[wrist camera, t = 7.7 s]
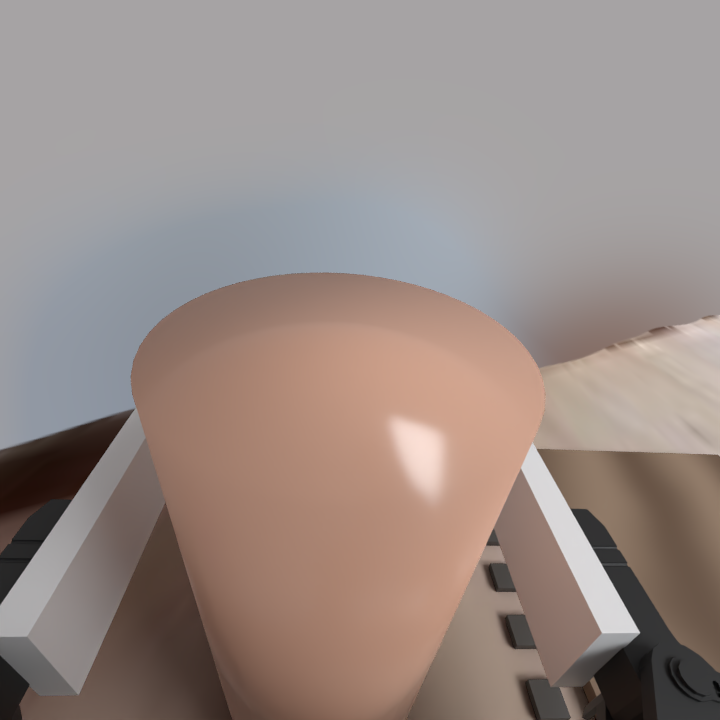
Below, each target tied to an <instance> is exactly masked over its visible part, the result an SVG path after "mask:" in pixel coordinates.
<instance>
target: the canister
mask: <svg viewBox="0 0 720 720" xmlns="http://www.w3.org/2000/svg"><path fill="white" fill-rule="evenodd" d="M131 386H132V395H133V398H134V401H135V405H136V408H137V411H138V415H139V418H140V421H141V424H142V428H143V431H144V434H145V437H146V441H147V444H148V447H149V450H150V454H151V457H152V460H153V463H154V467H155V470H156V473H157V477H158V480H159V483H160V486H161V490H162V493H163V496H164V499H165V503H166V506H167V509H168V512H169V516H170V519H171V522H172V526H173V529H174V532H175V535H176V539H177V542H178V545H179V548H180V552H181V555H182V558H183V561H184V565H185V568H186V571H187V574H188V578H189V581H190V584H191V588H192V591H193V594H194V597H195V601H196V604H197V607H198V610H199V614H200V617H201V620H202V623H203V627H204V630H205V633H206V637H207V640H208V643H209V646H210V650H211V653H212V656H213V659H214V663H215V666H216V669H217V672H218V676H219V679H220V682H221V685H222V689H223V692H224V695H225V699H226V702H227V705H228V708H229V712H230V715H231V718H232V720H407V718H408V715H409V713H410V711H411V709H412V707H413V704H414V702H415V700H416V698H417V696H418V693H419V691H420V689H421V687H422V685H423V682H424V680H425V678H426V676H427V673H428V671H429V669H430V667H431V665H432V662H433V660H434V658H435V656H436V654H437V651H438V649H439V647H440V645H441V643H442V640H443V638H444V636H445V634H446V632H447V629H448V627H449V625H450V623H451V621H452V618H453V616H454V614H455V612H456V610H457V607H458V605H459V603H460V601H461V599H462V596H463V594H464V592H465V590H466V588H467V585H468V583H469V581H470V579H471V577H472V574H473V572H474V570H475V568H476V566H477V563H478V561H479V559H480V557H481V555H482V552H483V550H484V548H485V546H486V544H487V541H488V539H489V537H490V535H491V532H492V530H493V528H494V526H495V524H496V521H497V519H498V517H499V515H500V513H501V510H502V508H503V506H504V504H505V502H506V499H507V497H508V495H509V493H510V491H511V488H512V486H513V484H514V482H515V480H516V477H517V475H518V473H519V471H520V469H521V466H522V464H523V462H524V460H525V458H526V455H527V453H528V451H529V449H530V447H531V444H532V442H533V440H534V438H535V436H536V433H537V431H538V429H539V427H540V423H541V420H542V417H543V414H544V411H545V396H546V394H545V388H544V383H543V378H542V376H541V374H540V371H539V369H538V366H537V364H536V363H535V361H534V360H533V358H532V356H531V355H530V353H529V352H528V351H527V349H526V348H525V347H524V346H523V345H522V344H521V342H520V341H519V340H518V339H517V338H516V337H515V336H514V335H513V334H511V333H510V332H509V331H508V330H507V329H506V328H505V327H503V326H502V325H500V324H499V323H497V322H496V321H495V320H494V319H492V318H491V317H489V316H487V315H486V314H484V313H482V312H481V311H479V310H477V309H475V308H473V307H471V306H470V305H467V304H466V303H464V302H461V301H459V300H457V299H454V298H452V297H450V296H447V295H445V294H442V293H439V292H436V291H434V290H431V289H427V288H424V287H421V286H417V285H414V284H409V283H405V282H401V281H397V280H392V279H386V278H381V277H373V276H366V275H357V274H345V273H297V274H285V275H277V276H269V277H263V278H258V279H253V280H248V281H244V282H239V283H236V284H232V285H229V286H225V287H222V288H219V289H217V290H214V291H211V292H209V293H206V294H204V295H202V296H200V297H198V298H195V299H193V300H191V301H189V302H187V303H186V304H184V305H182V306H181V307H179V308H177V309H176V310H174V311H173V312H171V313H170V314H169V315H168V316H166V317H165V318H164V319H162V320H161V321H160V322H159V323H158V324H157V325H156V326H155V327H154V328H153V329H152V330H151V331H150V332H149V334H148V335H147V336H146V338H145V339H144V340H143V342H142V343H141V345H140V347H139V349H138V351H137V354H136V356H135V358H134V361H133V367H132V372H131Z"/></svg>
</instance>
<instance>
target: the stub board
mask: <svg viewBox="0 0 720 720" xmlns="http://www.w3.org/2000/svg"><path fill="white" fill-rule="evenodd" d="M537 451H538V453H539V455H540V456H541V458H542V460H543V462H544V463H545V465H546V467H547V469H548V471H549V472H550V474H551V476H552V478H553V479H554V481H555V483H556V485H557V486H558V488H559V490H560V492H561V494H562V495H563V497H564V499H565V501H566V502H567V504H568V506H569V508H570V509H587V510H589V511H590V512H591V513H592V514H593V515H594V516H595V517H596V518H597V519H598V520H599V521H600V522H601V523H602V524H603V525H604V526H605V527H606V529H607V531H608V532H609V534H610V535H611V537H612V539H613V540H614V542H615V543H616V545H617V549H618V550H620V551H621V553H622V555H623V556H624V558H625V560H626V561H627V565H628V567H630V568H631V569H632V571H633V572H634V574H635V576H636V577H637V579H638V580H639V582H640V584H641V585H642V587H643V588H644V590H645V592H646V593H647V595H648V596H649V598H650V600H651V601H652V603H653V604H654V606H655V608H656V609H657V611H658V612H659V614H660V616H661V617H662V619H663V620H664V622H665V624H666V625H667V627H668V628H669V630H670V631H671V633H672V634H673V636H674V637H675V638H676V640H677V641H678V642H679V643H680V644H681V645H684V646H686V647H688V648H689V649H691V650H692V651H694V652H696V653H697V654H699V655H700V656H701V657H702V658H703V659H704V660H705V661H706V662H707V663H709V664H710V665H711V666H712V667H713V668H714V669H715V671H717V672H719V673H720V456H719V455H707V454H676V453H644V452H613V451H581V450H550V449H537ZM486 545H500V544H499V541H498V538H497V536H496V533H495V530H494V528H493V530H492V532H491V535H490V537H489V539H488V541H487V544H486ZM489 569H490V573H491V576H492V579H493V582H494V585H495V588H496V592H516V589H515V586H514V583H513V580H512V578H511V575H510V572H509V569H508V566H507V564H490V566H489ZM505 620H506V623H507V626H508V629H509V633H510V636H511V639H512V642H513V645H514V648H515V649H537V648H536V645H535V642H534V639H533V636H532V634H531V631H530V628H529V625H528V622H527V620H526V617H525V615H507V616H506V618H505ZM526 686H527V689H528V693H529V696H530V699H531V702H532V705H533V708H534V712H535V715H536V718H537V720H569V719H570V718H571V717H570V715H569V712H568V709H567V707H566V704H565V701H564V699H563V696H562V693H561V690H560V688H559V687H550V684H549V681H548V679H542V680H528V681H527V682H526ZM583 689H584V691H585V694H586V696H587V699H588V701H589V703H590V702H591V701H592V700H593V699H594V698H596V697H597V696H598V695H599V694H600V693H601V692H600V690H599V687H598V685H597V683H596V681H595V678H594V677H593V678H592V679H591V680H590V681H588V682H587V683H586V684H585V685H584V686H583ZM594 716H595V718H596V714H595V715H594Z"/></svg>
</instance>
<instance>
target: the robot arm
mask: <svg viewBox="0 0 720 720" xmlns="http://www.w3.org/2000/svg"><path fill="white" fill-rule="evenodd" d="M164 504H165V499H164V496H163V493H162V490H161V486H160V483H159V480H158V477H157V473H156V470H155V467H154V463H153V460H152V457H151V454H150V450H149V447H148V444H147V441H146V437H145V434H144V431H143V428H142V424H141V421H140V418H139V415H138V411H137V408H135V410H134V411H133V413H132V414H131V416H130V417H129V419H128V420H127V421H126V423H125V424H124V426H123V427H122V429H121V430H120V432H119V433H118V435H117V436H116V437H115V439H114V440H113V442H112V443H111V445H110V446H109V448H108V449H107V451H106V452H105V453H104V455H103V456H102V458H101V459H100V461H99V462H98V464H97V465H96V467H95V468H94V469H93V471H92V472H91V474H90V475H89V477H88V478H87V480H86V481H85V483H84V484H83V485H82V487H81V488H80V490H79V491H78V493H77V494H76V496H75V497H74V499H73V500H59V499H51V500H50V501H49V502H48V503H46V504H45V505H44V506H43V507H41V508H40V509H39V510H38V511H36V512H35V513H34V514H33V515H31V516H30V517H29V518H28V519H27V521H26V522H25V523H24V524H23V526H22V527H21V528H20V530H19V531H18V532H17V534H16V535H15V536H14V538H13V539H12V543H11V544H8V545H7V547H6V548H5V549H4V551H3V552H2V553H1V555H0V720H22V715H21V710H20V706H19V704H20V702H21V700H22V698H23V696H24V694H25V692H26V691H27V689H28V687H29V686H30V687H31V688H32V689H33V690H34V691H35V692H36V693H37V694H38V695H39V696H70V695H79V694H80V691H81V689H82V687H83V685H84V682H85V680H86V678H87V676H88V674H89V671H90V669H91V667H92V665H93V662H94V660H95V658H96V656H97V653H98V651H99V649H100V647H101V645H102V642H103V640H104V638H105V636H106V633H107V631H108V629H109V627H110V624H111V622H112V620H113V618H114V616H115V613H116V611H117V609H118V607H119V604H120V602H121V600H122V598H123V596H124V593H125V591H126V589H127V587H128V584H129V582H130V580H131V578H132V575H133V573H134V571H135V569H136V567H137V564H138V562H139V560H140V558H141V555H142V553H143V551H144V549H145V546H146V544H147V542H148V540H149V538H150V535H151V533H152V531H153V529H154V526H155V524H156V522H157V520H158V518H159V515H160V513H161V511H162V509H163V506H164ZM494 530H495V533H496V536H497V538H498V541H499V544H500V547H501V550H502V552H503V555H504V558H505V561H506V564H507V566H508V569H509V572H510V575H511V578H512V580H513V583H514V586H515V589H516V592H517V594H518V597H519V600H520V603H521V606H522V608H523V611H524V614H525V617H526V620H527V622H528V625H529V628H530V631H531V634H532V636H533V639H534V642H535V645H536V648H537V650H538V653H539V656H540V659H541V662H542V664H543V667H544V670H545V673H546V676H547V678H548V681H549V684H550V687H583V686H584V685H585V684H586V683H587V682H588V681H590V680H591V679H592V678H593V677H594V678H595V681H596V683H597V685H598V687H599V690H600V692H601V693H600V694H599V695H598V696H597V697H596V698H594V699H593V700H592V701H591V702H590V703H589V704H588V705H587V706H586V707H585V709H584V713H583V718H584V719H586V720H589V719H590V718H592V717H593V716H594V715H595V714H596V720H720V673H719V672H717V671H715V669H714V668H713V667H712V666H711V665H710V664H709V663H707V662H706V661H705V660H704V659H703V658H702V657H701V656H700V655H699V654H697V653H696V652H694V651H692V650H691V649H689V648H688V647H686V646H684V645H681V644H680V643H679V642H678V641H677V640H676V638H675V637H674V636H673V634H672V633H671V631H670V630H669V628H668V627H667V625H666V624H665V622H664V620H663V619H662V617H661V616H660V614H659V612H658V611H657V609H656V608H655V606H654V604H653V603H652V601H651V600H650V598H649V596H648V595H647V593H646V592H645V590H644V588H643V587H642V585H641V584H640V582H639V580H638V579H637V577H636V576H635V574H634V572H633V571H632V569H631V568H630V567H628V565H627V561H626V560H625V558H624V556H623V555H622V553H621V551H620V550H618V549H617V545H616V543H615V542H614V540H613V539H612V537H611V535H610V534H609V532H608V531H607V529H606V527H605V526H604V525H603V524H602V523H601V522H600V521H599V520H598V519H597V518H596V517H595V516H594V515H593V514H592V513H591V512H590V511H589V510H587V509H570V508H569V506H568V504H567V502H566V501H565V499H564V497H563V495H562V494H561V492H560V490H559V488H558V486H557V485H556V483H555V481H554V479H553V478H552V476H551V474H550V472H549V471H548V469H547V467H546V465H545V463H544V462H543V460H542V458H541V456H540V455H539V453H538V451H537V449H536V447H535V446H534V444H533V442H532V444H531V447H530V449H529V451H528V453H527V455H526V458H525V460H524V462H523V464H522V466H521V469H520V471H519V473H518V475H517V477H516V480H515V482H514V484H513V486H512V488H511V491H510V493H509V495H508V497H507V499H506V502H505V504H504V506H503V508H502V510H501V513H500V515H499V517H498V519H497V521H496V524H495V526H494Z"/></svg>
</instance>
